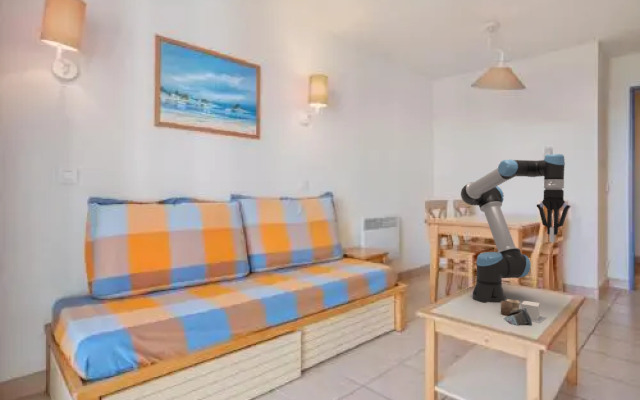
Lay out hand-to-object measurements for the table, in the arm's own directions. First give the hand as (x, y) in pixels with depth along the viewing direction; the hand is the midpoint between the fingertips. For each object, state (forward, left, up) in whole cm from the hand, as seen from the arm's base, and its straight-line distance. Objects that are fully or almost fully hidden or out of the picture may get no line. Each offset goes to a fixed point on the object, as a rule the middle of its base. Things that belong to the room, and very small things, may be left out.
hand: (552, 241), depth 165 cm
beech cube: (-13, -10, -33) cm, 36 cm away
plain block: (-4, -14, -32) cm, 35 cm away
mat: (-4, -14, -32) cm, 36 cm away
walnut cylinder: (-13, -18, -32) cm, 39 cm away
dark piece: (-7, -24, -33) cm, 42 cm away
